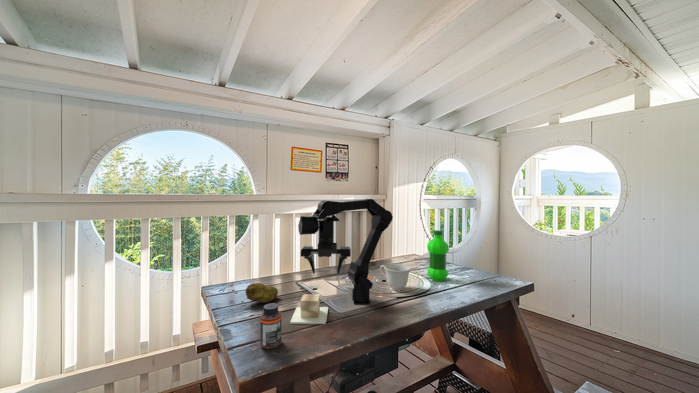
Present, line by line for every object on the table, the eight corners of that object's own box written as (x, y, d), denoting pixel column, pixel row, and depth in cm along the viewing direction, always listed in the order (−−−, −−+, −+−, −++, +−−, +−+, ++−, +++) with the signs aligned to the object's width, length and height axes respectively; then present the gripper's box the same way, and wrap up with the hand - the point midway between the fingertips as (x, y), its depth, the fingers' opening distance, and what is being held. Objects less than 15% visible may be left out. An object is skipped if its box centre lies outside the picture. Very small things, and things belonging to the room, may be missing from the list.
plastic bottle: (428, 282, 132) (429, 232, 132) (425, 276, 143) (426, 229, 142) (449, 284, 131) (450, 232, 130) (445, 277, 141) (446, 229, 141)
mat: (328, 308, 102) (328, 306, 102) (325, 324, 90) (325, 322, 90) (296, 308, 102) (296, 306, 102) (290, 323, 90) (290, 322, 90)
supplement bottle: (262, 338, 81) (262, 301, 81) (282, 338, 82) (283, 301, 81) (257, 350, 75) (257, 310, 75) (279, 349, 76) (279, 309, 75)
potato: (280, 302, 107) (280, 283, 107) (246, 308, 102) (246, 287, 102) (276, 295, 115) (276, 277, 115) (244, 300, 109) (244, 281, 109)
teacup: (386, 281, 134) (386, 261, 134) (414, 287, 125) (414, 266, 125) (373, 288, 124) (373, 266, 124) (403, 295, 115) (404, 272, 115)
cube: (319, 310, 99) (319, 294, 99) (317, 318, 93) (317, 300, 93) (303, 310, 99) (303, 294, 99) (300, 317, 93) (300, 300, 93)
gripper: (297, 236, 95) (297, 280, 95) (350, 236, 95) (350, 280, 95) (303, 231, 106) (303, 271, 106) (350, 232, 106) (350, 271, 106)
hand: (326, 273), depth 103 cm, fingers open, 9 cm apart
